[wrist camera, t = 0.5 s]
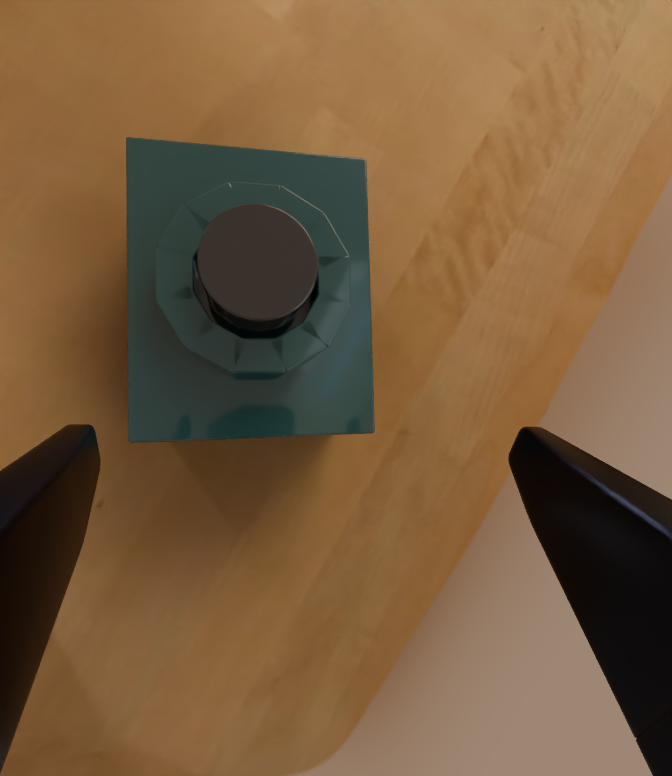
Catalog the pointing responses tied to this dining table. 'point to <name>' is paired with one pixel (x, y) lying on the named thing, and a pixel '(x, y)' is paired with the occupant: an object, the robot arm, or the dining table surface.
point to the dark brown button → (257, 266)
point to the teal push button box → (216, 336)
